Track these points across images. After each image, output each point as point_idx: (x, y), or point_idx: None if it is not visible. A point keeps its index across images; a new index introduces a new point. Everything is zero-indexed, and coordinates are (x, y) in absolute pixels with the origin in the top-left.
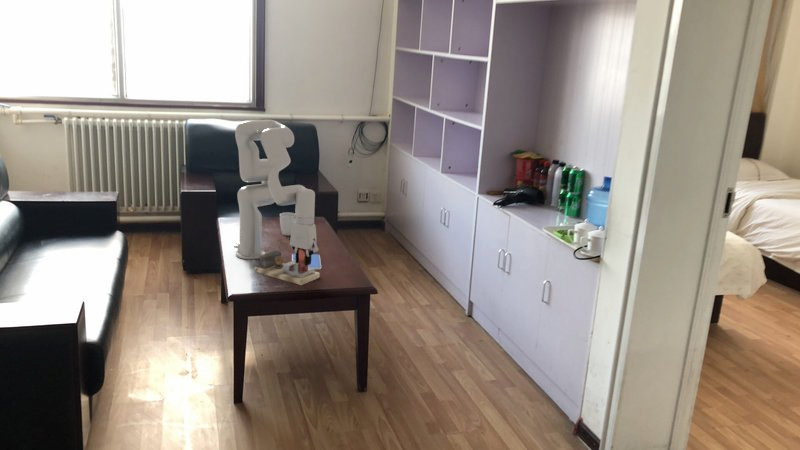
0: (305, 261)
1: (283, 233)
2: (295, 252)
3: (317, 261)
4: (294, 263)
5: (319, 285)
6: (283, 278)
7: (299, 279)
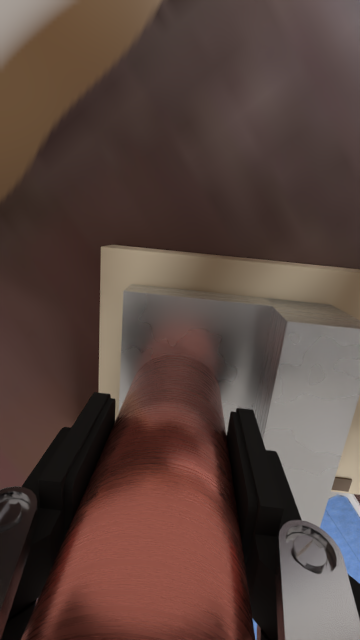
0: (88, 421)
1: None
2: (305, 540)
3: (256, 626)
4: (276, 418)
5: (13, 316)
6: (294, 264)
7: (129, 257)
